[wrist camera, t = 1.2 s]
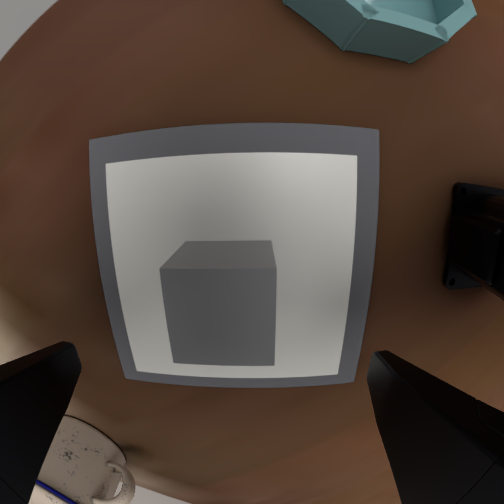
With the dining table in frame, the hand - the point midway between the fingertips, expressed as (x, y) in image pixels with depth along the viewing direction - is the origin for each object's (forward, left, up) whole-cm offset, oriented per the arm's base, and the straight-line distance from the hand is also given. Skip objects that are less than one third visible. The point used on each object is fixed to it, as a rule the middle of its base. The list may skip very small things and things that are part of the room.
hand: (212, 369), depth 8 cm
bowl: (-8, -17, -8) cm, 20 cm away
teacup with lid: (+14, +18, -8) cm, 24 cm away
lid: (0, 0, -8) cm, 8 cm away
